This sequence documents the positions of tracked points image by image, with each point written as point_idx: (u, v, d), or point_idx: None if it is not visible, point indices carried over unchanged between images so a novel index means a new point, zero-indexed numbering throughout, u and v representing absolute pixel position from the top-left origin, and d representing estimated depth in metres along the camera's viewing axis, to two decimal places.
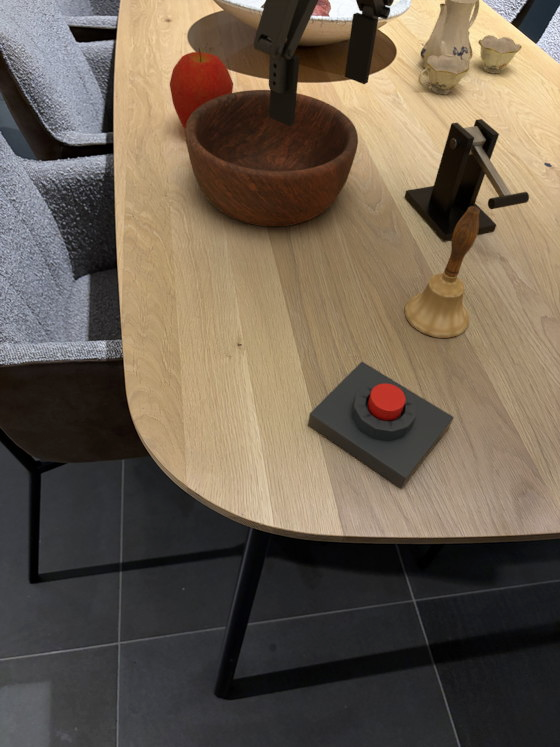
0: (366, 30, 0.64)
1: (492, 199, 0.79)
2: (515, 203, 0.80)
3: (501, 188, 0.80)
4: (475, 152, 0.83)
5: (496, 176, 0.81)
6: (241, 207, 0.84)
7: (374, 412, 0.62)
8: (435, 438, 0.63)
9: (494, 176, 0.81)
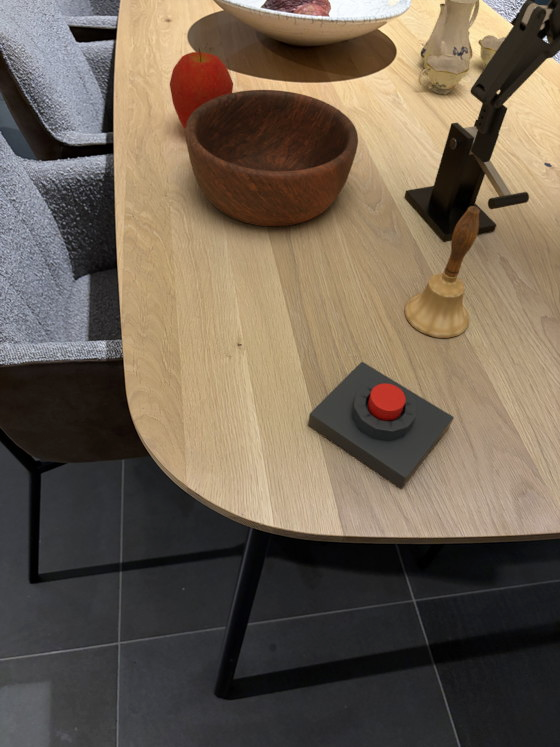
0: None
1: (492, 199, 0.79)
2: (515, 203, 0.80)
3: (501, 188, 0.80)
4: None
5: (496, 176, 0.81)
6: (241, 207, 0.84)
7: (374, 412, 0.62)
8: (435, 438, 0.63)
9: (494, 176, 0.81)
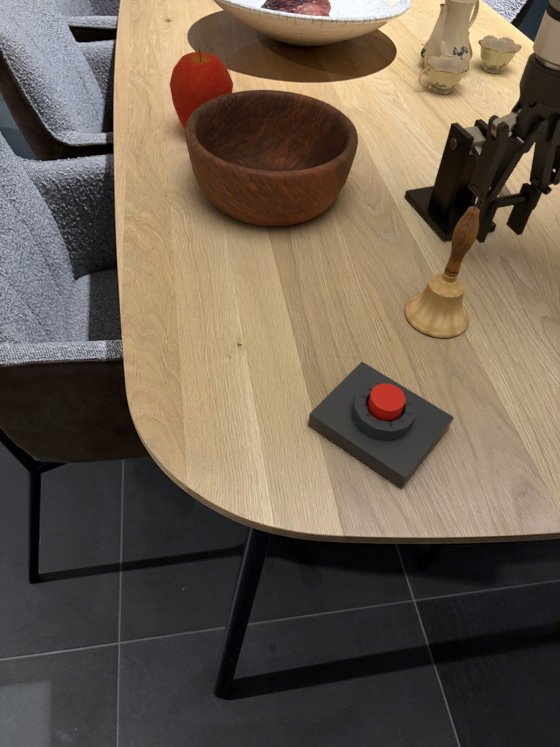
0: None
1: None
2: (515, 203, 0.80)
3: None
4: (475, 152, 0.83)
5: None
6: (241, 207, 0.84)
7: (374, 412, 0.62)
8: (435, 438, 0.63)
9: None
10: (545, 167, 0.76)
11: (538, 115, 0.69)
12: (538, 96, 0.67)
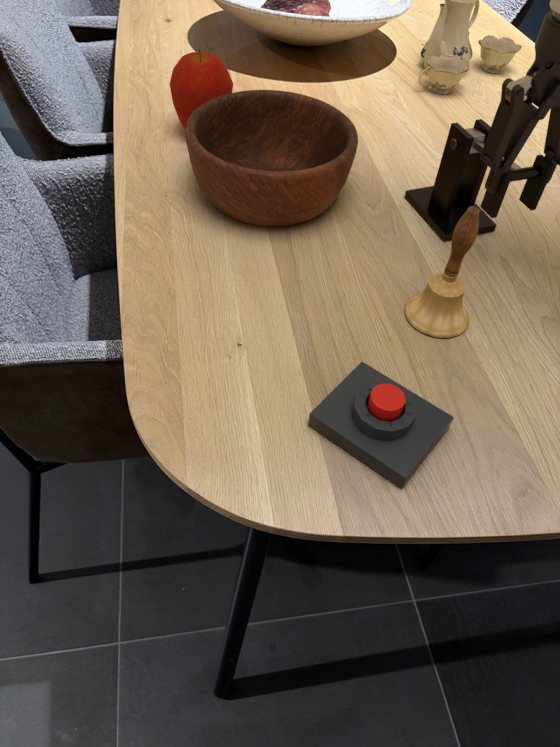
0: (542, 170, 0.77)
1: None
2: (529, 175, 0.76)
3: None
4: (477, 146, 0.82)
5: (503, 158, 0.79)
6: (241, 207, 0.84)
7: (374, 412, 0.62)
8: (435, 438, 0.63)
9: None
10: None
11: (555, 78, 0.66)
12: (555, 56, 0.63)
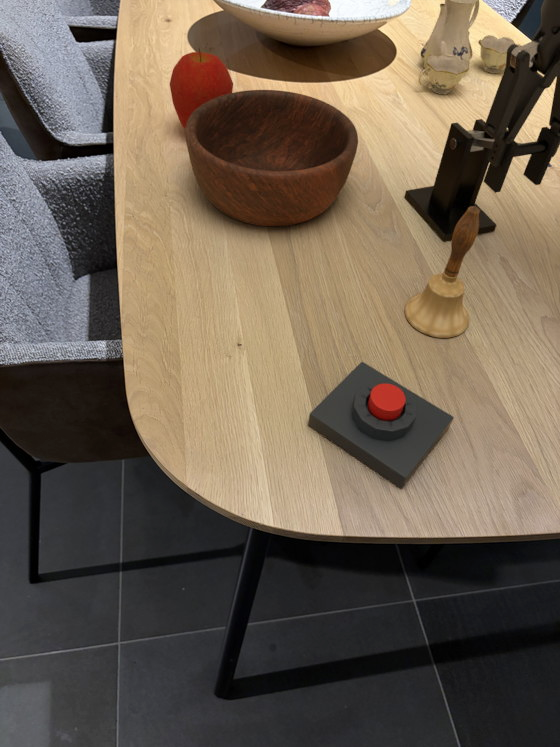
0: (548, 143, 0.75)
1: None
2: (534, 148, 0.74)
3: None
4: (478, 142, 0.82)
5: None
6: (241, 207, 0.84)
7: (374, 412, 0.62)
8: (435, 438, 0.63)
9: None
10: None
11: None
12: None
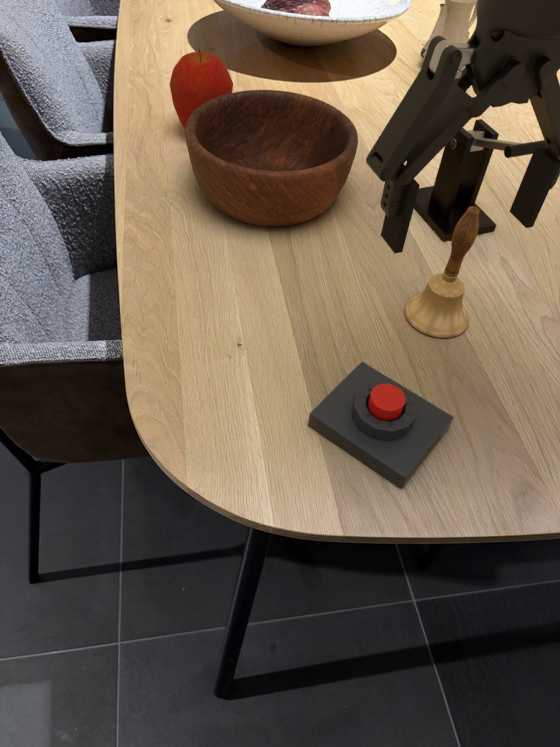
0: (543, 170, 0.52)
1: (507, 146, 0.74)
2: (534, 148, 0.74)
3: (514, 143, 0.76)
4: (478, 142, 0.82)
5: (505, 141, 0.78)
6: (241, 207, 0.84)
7: (374, 412, 0.62)
8: (435, 438, 0.63)
9: (502, 142, 0.78)
10: (556, 129, 0.48)
11: (513, 54, 0.41)
12: (505, 19, 0.39)
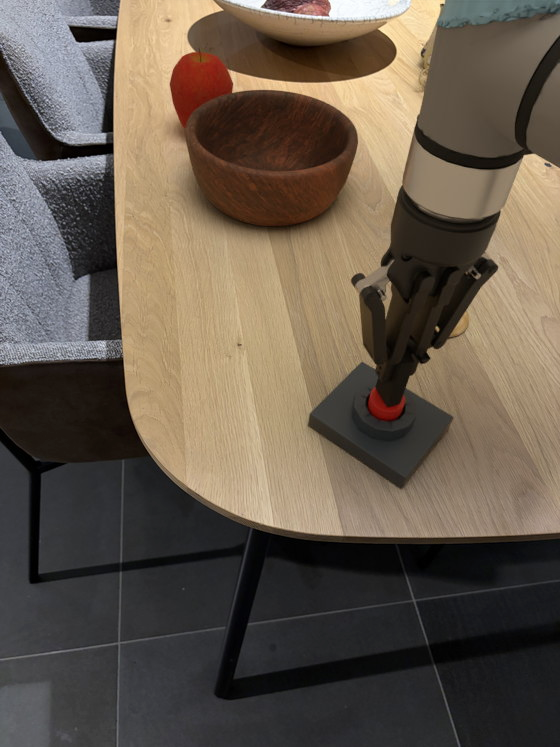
0: None
1: None
2: None
3: None
4: None
5: None
6: (241, 207, 0.84)
7: (373, 413, 0.62)
8: (435, 438, 0.63)
9: None
10: (425, 329, 0.53)
11: (417, 271, 0.47)
12: (412, 249, 0.44)
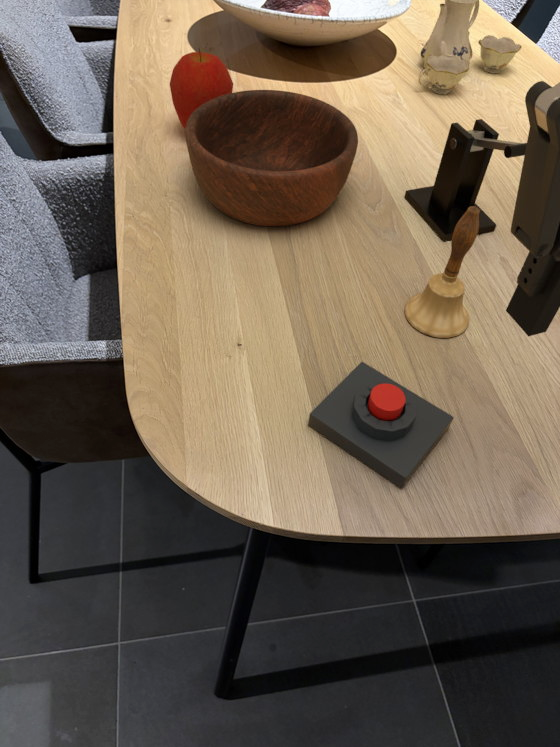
0: None
1: (507, 146, 0.74)
2: None
3: (514, 143, 0.76)
4: (478, 142, 0.82)
5: (505, 141, 0.78)
6: (241, 207, 0.84)
7: (374, 412, 0.62)
8: (435, 438, 0.63)
9: (502, 142, 0.78)
10: None
11: None
12: None
